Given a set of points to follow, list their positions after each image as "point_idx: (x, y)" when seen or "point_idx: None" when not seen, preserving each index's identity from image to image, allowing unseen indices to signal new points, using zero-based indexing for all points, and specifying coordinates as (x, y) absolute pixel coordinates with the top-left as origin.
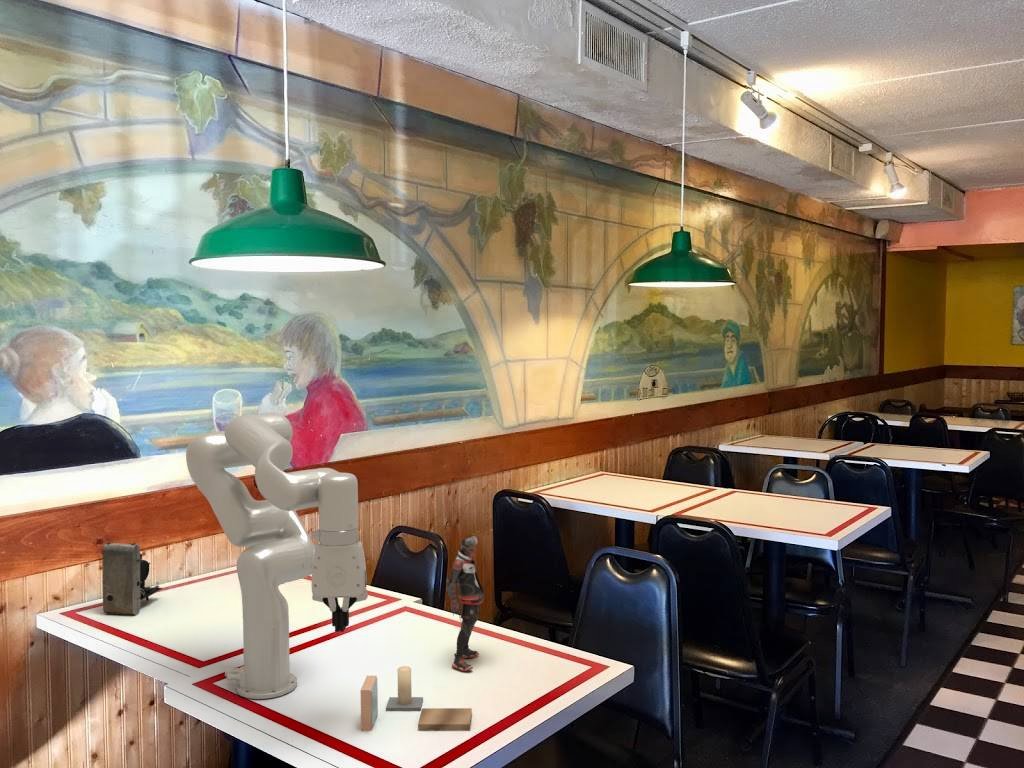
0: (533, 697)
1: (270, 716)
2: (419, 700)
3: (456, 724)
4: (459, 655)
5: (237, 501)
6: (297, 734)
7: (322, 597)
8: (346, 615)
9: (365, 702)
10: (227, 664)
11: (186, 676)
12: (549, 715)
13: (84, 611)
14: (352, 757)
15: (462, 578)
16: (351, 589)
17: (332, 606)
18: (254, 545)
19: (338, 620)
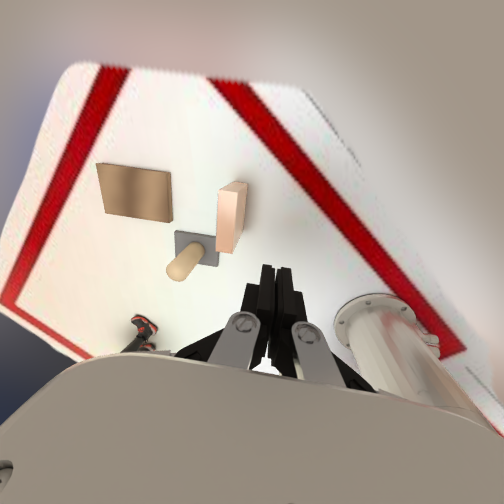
0: (51, 244)
1: (373, 246)
2: (178, 252)
3: (114, 166)
4: (140, 336)
5: None
6: (338, 184)
7: (408, 400)
8: (244, 306)
9: (233, 188)
10: None
11: (470, 367)
12: (18, 193)
13: None
14: (254, 90)
15: None
16: (121, 430)
17: (310, 346)
18: None
19: (278, 290)
